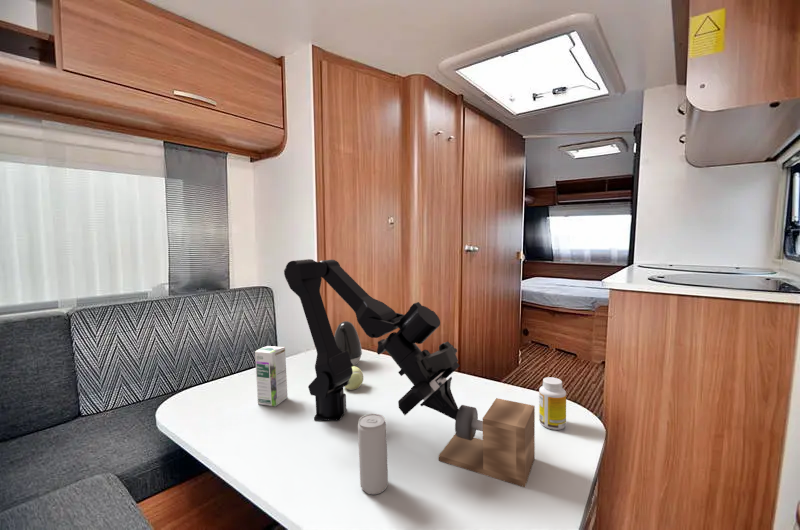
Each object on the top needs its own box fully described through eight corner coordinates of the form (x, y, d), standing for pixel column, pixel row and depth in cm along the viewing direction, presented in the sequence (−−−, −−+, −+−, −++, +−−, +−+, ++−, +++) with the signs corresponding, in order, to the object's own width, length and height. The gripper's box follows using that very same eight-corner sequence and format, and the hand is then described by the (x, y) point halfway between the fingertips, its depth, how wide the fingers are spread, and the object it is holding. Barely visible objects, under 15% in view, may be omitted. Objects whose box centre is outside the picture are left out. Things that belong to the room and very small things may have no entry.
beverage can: (384, 498, 60) (381, 428, 59) (356, 494, 61) (353, 426, 60) (390, 478, 64) (388, 414, 64) (365, 476, 65) (362, 412, 64)
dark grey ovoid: (327, 370, 119) (325, 325, 117) (338, 359, 129) (336, 317, 128) (357, 371, 117) (355, 325, 116) (365, 360, 127) (363, 318, 126)
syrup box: (256, 404, 95) (253, 351, 94) (271, 395, 101) (268, 344, 100) (275, 407, 94) (271, 352, 92) (288, 397, 99) (285, 345, 98)
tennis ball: (337, 364, 105) (350, 370, 100) (355, 362, 109) (369, 367, 104) (335, 387, 104) (348, 393, 99) (354, 383, 109) (367, 389, 104)
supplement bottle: (571, 425, 80) (571, 381, 79) (556, 434, 77) (556, 387, 76) (548, 415, 85) (549, 373, 84) (534, 423, 82) (533, 379, 81)
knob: (455, 443, 69) (454, 412, 68) (466, 428, 74) (465, 400, 74) (499, 455, 65) (499, 423, 64) (508, 438, 70) (507, 409, 69)
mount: (438, 460, 69) (437, 407, 68) (455, 437, 77) (455, 389, 76) (525, 487, 61) (524, 428, 60) (534, 458, 69) (534, 405, 68)
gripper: (410, 345, 65) (470, 418, 60) (450, 322, 81) (500, 378, 76) (375, 381, 69) (429, 451, 65) (419, 352, 85) (465, 407, 81)
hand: (459, 418), depth 71 cm, fingers closed, pressing on knob
